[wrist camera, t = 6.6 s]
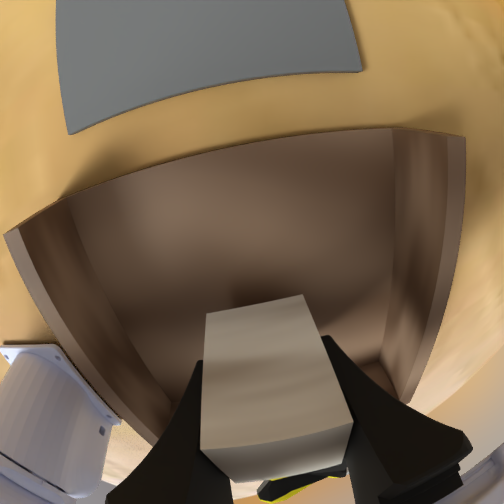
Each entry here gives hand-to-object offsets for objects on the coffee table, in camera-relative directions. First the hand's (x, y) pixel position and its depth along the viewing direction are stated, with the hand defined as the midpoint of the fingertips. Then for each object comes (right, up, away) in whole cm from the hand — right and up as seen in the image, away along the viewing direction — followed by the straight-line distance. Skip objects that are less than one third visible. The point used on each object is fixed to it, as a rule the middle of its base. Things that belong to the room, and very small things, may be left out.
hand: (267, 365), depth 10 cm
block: (0, +1, +1) cm, 2 cm away
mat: (-3, +15, -4) cm, 16 cm away
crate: (0, +2, +3) cm, 4 cm away
